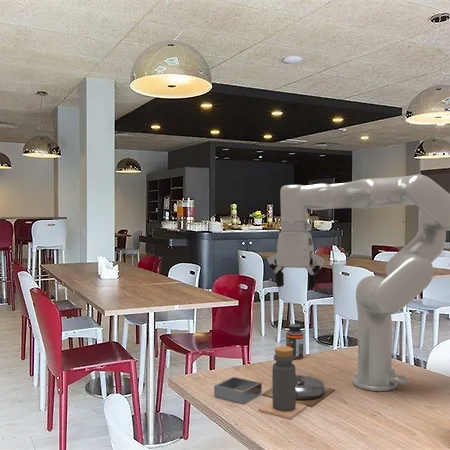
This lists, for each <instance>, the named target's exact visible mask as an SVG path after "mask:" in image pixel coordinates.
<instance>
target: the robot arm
mask: <svg viewBox="0 0 450 450" xmlns="http://www.w3.org/2000/svg"><path fill="white" fill-rule="evenodd" d="M279 197H280V221H281V222H280V224H281V225H280V227H281V228H280V230H281V231H280V232H279V234H278V239H277V246H276V253H274V254H271V255H270V256H268V257H267V262H268V264H269V267H270V268H271V269H272V270H273V273H274V274H275V284H276V287H277V288H281V287H283V286H284V285H285V283H284V282H285V281H284V279H285V278H284V272H283V270H284V269H285V268H291V269H292V268H294V269H295V268H296V269H306V271H307V273H309V274H308V275H307V289H308V290H312V289H313V290H314V289H315V287H316V285H317V283H316V282H317V280H316V278H317V277H316V276H317V275H316V274H317V273H318V272H319V271H321V270H322V267H323V265H324V262H325V259H324V258H323V257H321V256H319V255H317V254H316V253H315V251H314V250H315V249H314V243H313V237H312V234H311V232H308V231H309V230H310V229H311V230H312V228H313V224H312V223H309V221H308V210H309V209H310V210H311V211H321V210H324V211H325V210H331V209H375V208H386V207H387V208H389V207H402V206H416V207H418V208H419V211H418V215H417V217H418V230H417V233H416V234H415V236H414V238H412V239H411V240H410V241H409V242H408V243H407V244H406V245H405V246H404V247H402V248H401V249H400V250H399V251H398V252H396V254H394V255H393V256H391V258H390V259H388V261H387V263H386V265H385V274H386V276H385V277H381V276H378V275H368V276H365V277H364V278H362V279H360V280H359V282H358V284H357V286H356V289H355V302H356V308H357V309H356V310H357V374H356V375H354V376H352V379H351V381H352V384H353V385H354V386H355V387H357V388H360V389H363V390H367V391H373V392H388V391H393V390H395V389H396V388H397V387H398V384H399V385H404V386H406V385H407V381H408V380H407V377H405V376H404V375H399V374H397V373H396V371H395V368H393V367H392V366H393V365H392V364H393V363H392V361H393V360H392V359H393V352H392V351H393V350H392V349H393V347H392V346H393V342H392V341H393V320H392V315H394V314H396V313H398V312H400V311H402V309H404V307H406V306H408V304H409V303H411V301H413V300H414V299H415V298H417V297H418V296H419V295H420V294H421V293H422V292H423V291H424V290H425V289H426V288H427V287H428V286H429V285H430V284H431V282H432V280H433V277H434V271H435V270H434V266H433V262H435V260H436V259H438V258H439V256H440V255H441V254H442V252H443V251H444V248H445V245H446V238H447V232H448V231H450V193H449V192H448V191H446V189H444V188H443V187H442V186H440V184H438V183H437V182H435V181H434V180H433V179H431V178H430V177H429V176H426V175H423V174H420V173H419V174H418V173H417V174H412V175H405V176H393V177H392V176H391V177H376V178H363V179H358V180H354V181H348V182H342V183H341V182H340V183H331V184H328V183H325V182H324V183H323V182H321V183H315V184H308V185H307V184H306V185H303V184H286V185H283V186H281V188H280V195H279ZM275 260H276V263H275ZM315 261H316V265H315ZM314 265H315V266H314Z"/></svg>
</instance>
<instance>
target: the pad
mask: <svg viewBox="0 0 450 450" xmlns="http://www.w3.org/2000/svg"><path fill="white" fill-rule="evenodd" d="M307 408H308V406H307V405H303V404H299V403H296V407H295V409H294V410H291V411H279V410H276V409H274V408H273V399H272V400H271V401H269V402H267V403H265V404H263V405H262V406H261V407H259V408H258V412H261V413H264V414H268V415H273V416H276V417H280V418H284V419H288V420H292V419H293V418H295V417H296V416H297V415H299V414H300V413H301V412H303V411H305V410H306V409H307Z"/></svg>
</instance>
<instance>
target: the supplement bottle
mask: <svg viewBox="0 0 450 450" xmlns="http://www.w3.org/2000/svg"><path fill="white" fill-rule="evenodd" d="M301 327H302V326H301V324H298V323H291V324H289V325H288V330H287V331H286V335H285V340H286V341H285V344H286V345H285V346H286V347H291V348H293V353H292V355H294V360H300V359H303V357H304V332H303V331H302V330H301Z"/></svg>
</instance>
